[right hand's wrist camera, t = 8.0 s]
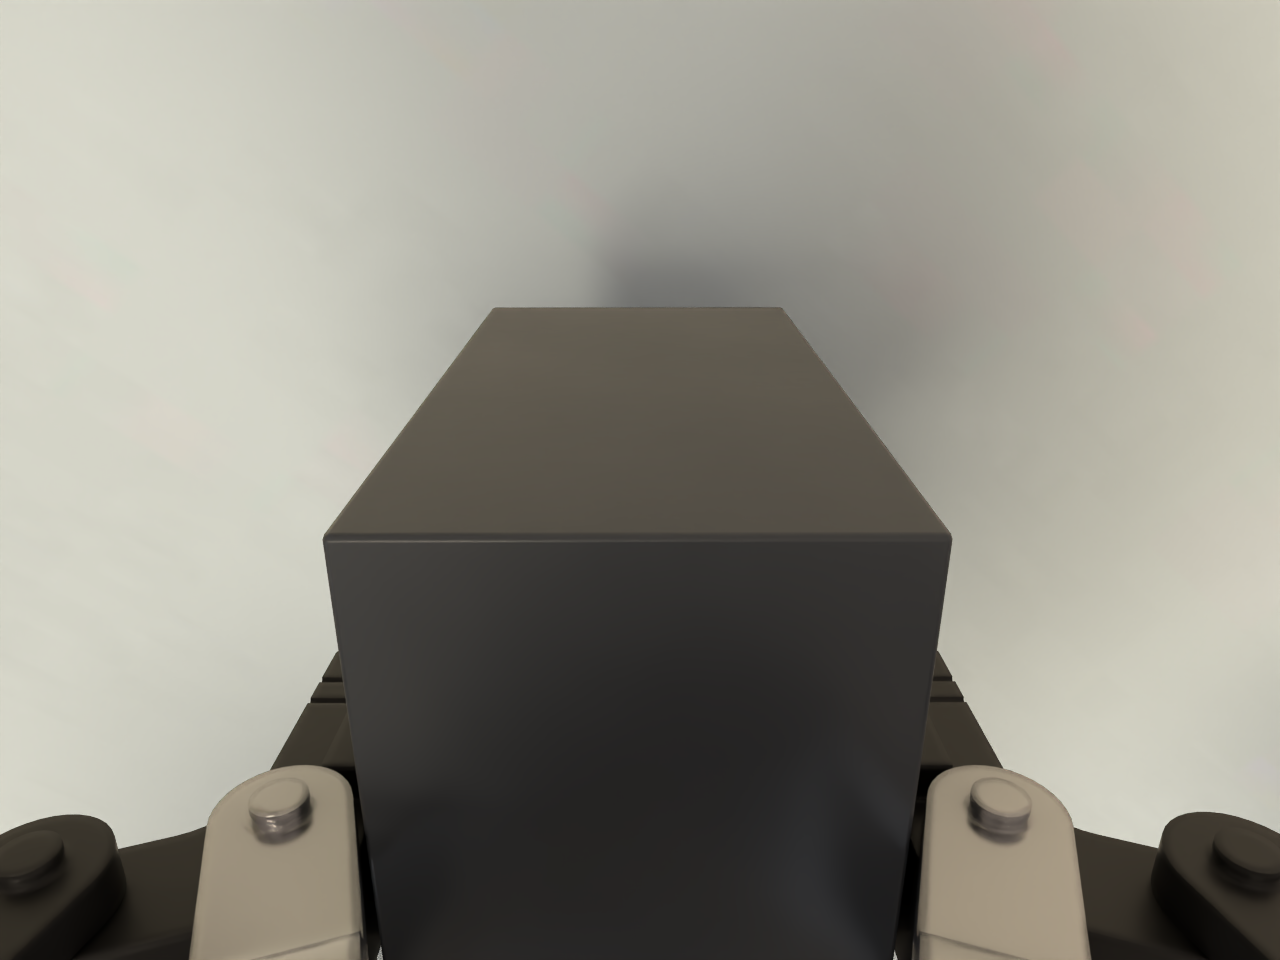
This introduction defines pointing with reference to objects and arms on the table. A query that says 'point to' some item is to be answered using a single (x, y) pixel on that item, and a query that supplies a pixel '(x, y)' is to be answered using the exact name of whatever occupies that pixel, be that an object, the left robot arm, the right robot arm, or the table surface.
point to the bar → (637, 648)
